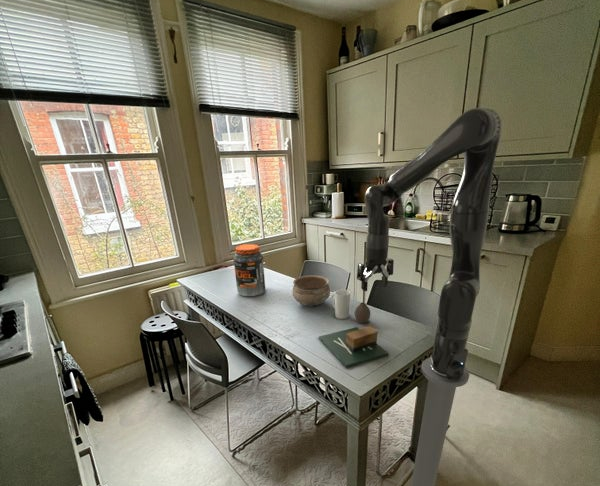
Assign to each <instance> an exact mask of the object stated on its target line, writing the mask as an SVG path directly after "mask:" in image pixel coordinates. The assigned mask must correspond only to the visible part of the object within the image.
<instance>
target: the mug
mask: <svg viewBox="0 0 600 486" xmlns="http://www.w3.org/2000/svg"><path fill="white" fill-rule="evenodd" d="M330 298H331V299H330V300H331V304H332V307H333V308H334V315H335V318H336V319H339V320H344V319H348V318H349V317H350V303H351V301H350V300H351V291H350V290H348V289H337V290H334V291H332V294H331V297H330Z"/></svg>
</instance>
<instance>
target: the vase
mask: <svg viewBox="0 0 600 486" xmlns="http://www.w3.org/2000/svg"><path fill="white" fill-rule="evenodd" d="M370 318H371V310H370V307H369V306H368V305H367V303H366V302H360V303H359V304H358V306H357V307H356V308H355V310H354V319H355V320H356V322H358V323H359V324H366V323H368V321H369V320H370Z"/></svg>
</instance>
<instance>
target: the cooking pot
mask: <svg viewBox="0 0 600 486" xmlns="http://www.w3.org/2000/svg"><path fill="white" fill-rule="evenodd" d="M329 282H330V280H329V278H327V277H324V276H321V275H302V276H299V277H296V278H295V279H294V280H293V282H292V283H293V286H292V290H291V291H292V292H291V293H292V296H293V299H294V300H295V301H296V302H298V303H299V304H301V305H304V306H305V307H309V308H311V307H312V308H313V307H316V306H319V305H322V304H323V303H325V302H326V301H327V300H328V299H329V297H330V296H331V288H330V285H329Z"/></svg>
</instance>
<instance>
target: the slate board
mask: <svg viewBox="0 0 600 486" xmlns="http://www.w3.org/2000/svg"><path fill="white" fill-rule="evenodd" d="M359 329H360V328H358V327H357V326H355V327H351V328H347V329H343V330H339V331H336V332H332V333H327V334H324V335H320V336H318V339H319V340H320V342H321V343H322V344H323V345H324V346H325V347H326V348H327V349H328V350H329V351H330V353H332V355H333V356H335V357H336V359H337V360H338V361H339V362H340V363H341V364H342V365H343V366H344V367H345V368H347V369H348V368H351V367H354V366H357V365H360V364H364V363H367V362H370V361H373V360H377V359H380V358H383V357H388V356H389V352H388V351H387V350H386V349H384V348H383V347H382V346H381V345H379V344H378V343H377V344H375V345H372V346H369V347H366V348H363V349H360V350H357V351H354V352H353V351H352V350H351V349H349V348H348V347H347V346H346V333H349V332H353V331H356V330H359Z"/></svg>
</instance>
